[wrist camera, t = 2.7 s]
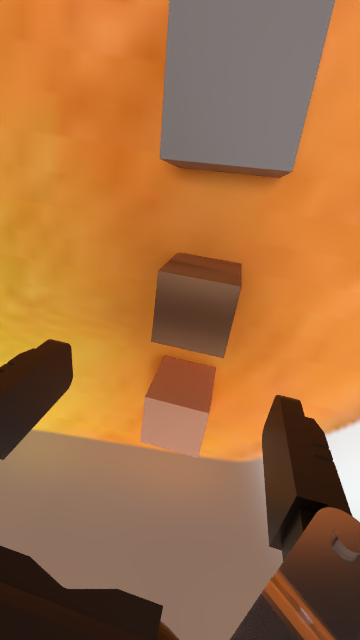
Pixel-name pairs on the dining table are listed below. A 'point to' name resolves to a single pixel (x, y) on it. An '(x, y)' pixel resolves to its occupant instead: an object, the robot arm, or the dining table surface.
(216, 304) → the walnut block
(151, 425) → the terracotta block
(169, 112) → the charcoal block
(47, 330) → the dining table surface
